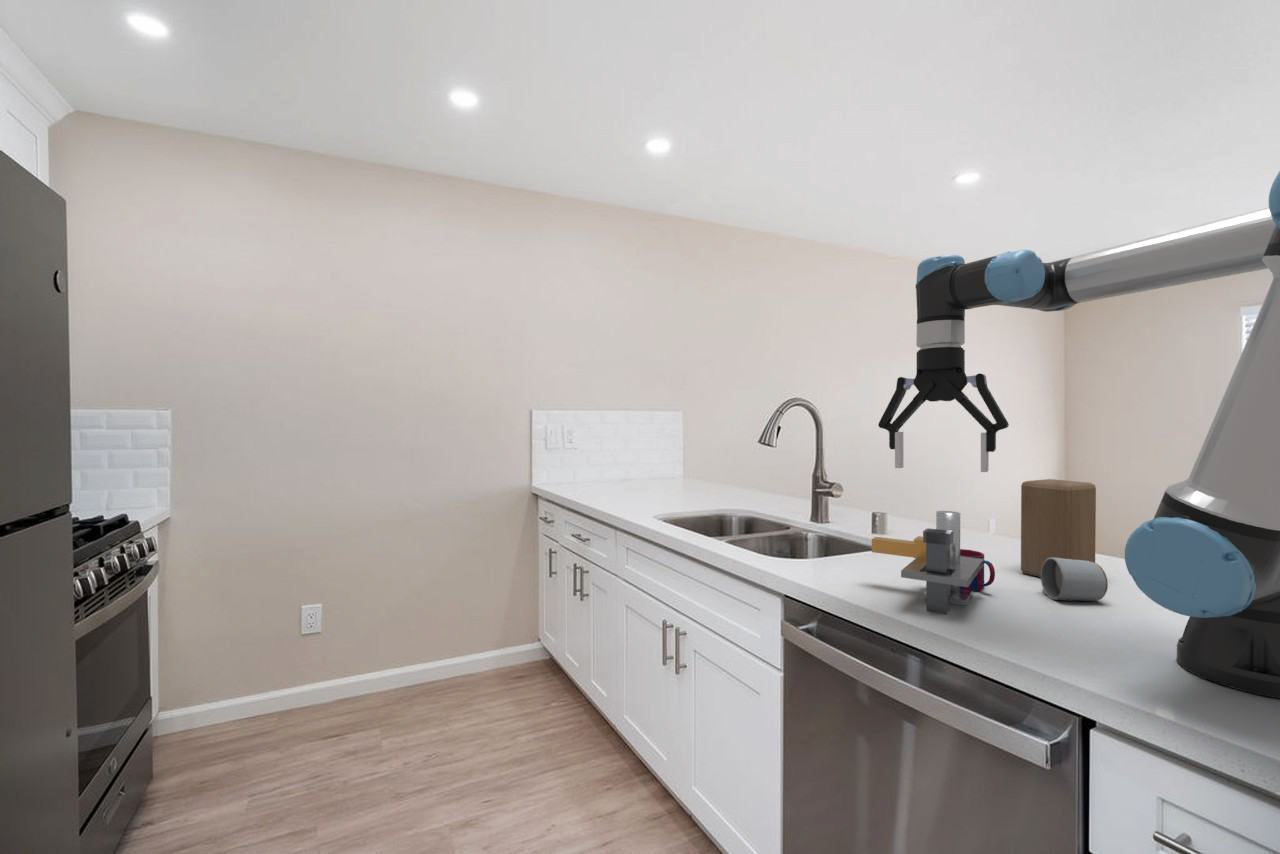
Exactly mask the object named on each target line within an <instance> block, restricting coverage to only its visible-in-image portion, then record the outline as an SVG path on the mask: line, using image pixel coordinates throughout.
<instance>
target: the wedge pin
mask: <svg viewBox="0 0 1280 854" xmlns="http://www.w3.org/2000/svg"><path fill="white" fill-rule="evenodd" d="M922 537H923V543H926V572H927V573H934V574H941V575H948V576H950V545H951V544H952V543H953V531H950V530H939V529H936V528H929V527H927V528H925V529H924V530H923V531H922ZM925 583H926V584H925V586H926V588H925V591H926V599H925V600H926V601H925V602H926V603H925V604H926V606H925V607H926V612H930V613H935V614H942V615H946V616H947V614H949V612H950V610H951V603H950V585H949V584H943V583H936V582H929V581H925Z"/></svg>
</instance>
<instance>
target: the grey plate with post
mask: <svg viewBox="0 0 1280 854" xmlns="http://www.w3.org/2000/svg"><path fill="white" fill-rule="evenodd" d="M935 513H936V516H935V518H936V520H935V523H936V526H935V529H939V530H950V531H953V543H952V544H951V545H950V576H948V575H941V574H934V573H927V572H926V543H923V536H916V537H915V538H914V539H913V540H908V539H898V538H889V537H879V536H874V537H873V538H871V552H872V553H876V554H883V555H892V556H898V557H904V558H905V557H906V558H912V561H911V562H909V564H907V565H906V566H905V567H904V568H902V569H901V570H900V578H902V579H903V578H904V579H911V580H915V581H916V580H917V581H923V582H924V581H925V582H926V581H929V582H936V583H943V584H949V585H950V604H953V605H958V606H964V607H965V606H967V604H968V603H969V602H970V600H971V598H972V597H973V591H969V590H963V589H960V586H962V587H968V586H969V585H970V583H971V582H972V581H973V579H974V578H975V577H976V575H977V574H978V573H979V571H980V570H981V568H982V567H983V566H984V567H985V563H984V560H985V558H984V559H979V558H971V557H963V556H960V549H961V513H960V511H952V510H937V511H935ZM923 600H926V590H925V591H924V592H923Z"/></svg>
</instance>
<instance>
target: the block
mask: <svg viewBox="0 0 1280 854" xmlns="http://www.w3.org/2000/svg"><path fill="white" fill-rule="evenodd" d="M1020 488H1021V490H1020V493H1021V497H1020V499H1021V500H1020V501H1021V502H1020V503H1021V505H1020V506H1021V507H1020V514H1021V515H1020V571H1021V573H1023V574H1025V575H1028V574H1029V575H1028V576H1032V575H1034V576H1033V577H1036V576H1038V577H1037V578H1041V568H1042V565H1043V563H1044V561H1045V560H1046V559H1048V558H1051V557H1054V558H1063V559H1073V560H1084V561H1090V562H1094V563H1096V534H1097V533H1096V527H1097V525H1096V520H1097V519H1096V512H1097V510H1096V509H1097V507H1096V506H1097V502H1096V501H1097V487H1096V485H1095V484H1094V483H1092V482H1085V481H1074V480H1064V479H1055V478H1048V479H1037V480H1027V481H1022V483H1021V485H1020Z"/></svg>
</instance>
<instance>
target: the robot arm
mask: <svg viewBox="0 0 1280 854" xmlns="http://www.w3.org/2000/svg"><path fill="white" fill-rule="evenodd" d="M1263 270H1269V271H1270V272H1271V274H1272V280H1271V283H1270V286H1269V289H1268V290H1267V293H1266V296H1265V298H1264V301H1263V303H1262V305H1261V307H1260V310H1259V312H1258V315H1257V316H1256V319H1255V321H1254V324H1253V326H1252V328H1251V330H1250V333H1249V336H1248V338H1247V340H1246V342H1245V345H1244V347H1243V350H1242V352H1241V354H1240V356H1239V359H1238V361H1237V363H1236V366H1235V368H1234V371H1233V373H1232V374H1231V378H1230V380H1229V382H1228V385H1227V386H1226V390H1225V392H1224V394H1223V397H1222V398H1221V401H1220V403H1219V406H1218V408H1217V410H1216V412H1215V414H1214V418H1213V420H1212V422H1211V424H1210V427H1209V430H1208V432H1207V434H1206V436H1205V437H1204V441H1203V444H1202V446H1201V448H1200V451H1199V452H1198V456H1197V457H1196V460H1195V462H1194V464H1193V467H1192V468H1191V471H1190V474H1189V475H1188V476H1189V477H1188V478H1186V479H1184V480H1182V481H1179V482H1176V483H1174V484H1170V485H1168V486H1167V487H1166V489H1165V491H1164V493H1163V496H1162V498H1161V501H1160V502H1159V505H1158V507H1157V510H1156V512H1155V514H1154V516H1153V519H1150V520H1148V521H1147V520H1146V521H1144V522H1143V523H1141V524H1140V525H1139V527H1136V528H1135V530H1133V532H1132V533H1131V534H1130V535H1129V537H1128V539H1127V541H1126V543H1125V546H1124V547H1125V548H1124V561H1125V566H1126V569H1127V571H1128V574H1129V575H1130V576H1131V577H1132V579H1133V582H1134V583H1135V586H1136V587H1137V588H1138V589H1139V590H1140V592H1142V593H1143V594H1144V595H1145V596H1146V597H1147V598H1149V600H1151V601H1153V602H1154V603H1156V604H1157V605H1159V606H1160V607H1163V608H1164V609H1166V610H1168V611H1170V612H1173V613H1174V614H1175V613H1176V614H1179V615H1182V616H1187V617H1189V618H1188V620H1187V622H1186V625H1185V627H1184V630H1183V634H1182V637H1180V638H1179V639H1178V641H1177V643H1176V661H1177V663H1178V664H1179V665H1180V666H1181V667H1182V668H1184V669H1185V670H1187V671H1189V672H1190V673H1191V674H1194V675H1197V676H1199V677H1201V678H1204V679H1206V680H1208V681H1211V682H1214V683H1217V684H1220V685H1223V686H1226V687H1230V688H1232V689H1236V690H1239V691H1244V692H1247V693H1251V694H1257V695H1261V696H1266V697H1270V698H1276V699H1280V171H1278V173H1277V175H1276V176H1275V178H1274V179H1273V182H1272V184H1271V187H1270V190H1269V194H1268V207H1266V208H1263V209H1258V210H1254V211H1250V212H1246V213H1241V214H1237V215H1233V216H1229V217H1226V218H1222V219H1219V220H1214V221H1211V222H1206V223H1202V224H1198V225H1194V226H1191V227H1185V228H1182V229H1179V230H1178V229H1177V230H1175V231H1170V232H1166V233H1162V234H1158V235H1154V236H1151V237H1150V236H1149V237H1146V238H1143V239H1137V240H1134V241H1131V242H1127V243H1122V244H1118V245H1115V246H1110V247H1107V248H1102V249H1099V250H1093V251H1090V252H1086V253H1082V254H1078V255H1075V256H1073V257H1072V256H1071V257H1068V258H1064V259H1063V258H1062V259H1058V260H1054V261H1051V262H1043V260H1042V259H1041V257H1040V256H1037V254H1036V252H1035V251H1033V250H1030V249H1020V250H1016V251H1006V252H1002V253H1000V254H998V255H993V256H990V257H986V258H983V259H979V260H975V261H971V262H967V263H965V258H964V257H962V255H961V256H960V255H958V254H957V255H956V254H943V255H939V256H931V257H928V258H925V259H923V260H922V261H920V262H919V264H918V266H917V270H916V284H915V293H916V295H915V296H916V317H917V318H916V342H915V344H916V346H917V348H919V350H917V351H916V373H915V374H916V375H915V377H914V378H907V377H903V376H900V377H898V378H897V380H896V387H895V391H894V393H893V395H892V397H891V398H890V401H889V402H888V404H887V406H886V408H885V409H884V412H883V414H882V416H881V418H880V420H879V422H878V425H877V426H878V428H880V429H883V430H886V431H888V436H889V438H888V440H889V441H888V446H889V449H890V450H894V469H901V468H904V431H900V429H901V428H902V427H903V426H904V425H905V423H906V422H907V421H908V420H909V419H910V418H911V417H913V415H914V413H915V412H917V410H918V409H919V408H920V407H921V406H922V405H923V404H924V403H925V402H926V401H928V402H940V401H942V402H953V401H954V400H956V402H958V404H960V405H961V406H962V407H963V408H964V409H965V410H966V411H967V413H969V414H970V416H971V417H973V419H974V420H975V421H976V422H977V423H978V425H980V426H981V427H982V428H983V429H984V430H985V431H986V432H980V473H988V472H989V452H990V453H994V452H995V451H996V450H997V443H996V442H997V433H998V432H999V431H1002V430H1004V429H1007V428H1008V427H1009V422H1008V420H1007V418H1006V417H1005V415H1004V413H1003V412H1002V410H1001V407H1000V406H999V405H998V403H997V401H996V399H995V398H994V396H993V394H992V393H991V390H990V389H989V387H988V384H987V383H988V381H987V376H986V374H983V373H977V374H976V375H975V374H973V375H968V376H967V375H966V371H965V370H966V369H965V368H966V367H965V365H966V364H965V362H966V361H965V358H966V356H965V355H966V354H965V352H966V350H965V349H964V347H962V346H964V344H965V341H966V337H965V334H966V333H965V331H966V329H965V328H966V326H965V325H966V324H965V323H966V322H965V318H966V315H965V314H966V310H973V309H977V308H983V307H989V306H1003V307H1010V308H1011V307H1012V308H1022V309H1029V310H1037V311H1039V312H1044V313H1045V312H1048V313H1049V312H1062V311H1066V310H1069V309H1070V308H1073V307H1074V306H1075V305H1077V304H1081V303H1087V302H1090V301H1095V300H1096V301H1097V300H1102V299H1107V298H1114V297H1118V296H1119V297H1120V296H1124V295H1125V296H1126V295H1129V294H1135V293H1141V292H1146V291H1151V290H1158V289H1163V288H1169V287H1174V286H1175V287H1176V286H1180V285H1185V284H1191V283H1195V282H1202V281H1207V280H1212V279H1213V280H1214V279H1219V278H1223V277H1224V278H1225V277H1228V276H1229V277H1230V276H1235V275H1240V274H1245V273H1250V272H1251V273H1252V272H1257V271H1263ZM916 346H915V347H916ZM968 383H969V384H971V386H972V387H973V388H976V389H977V392H978V393H979V395H980V397H981V398H982V400H983V402H984V404H985V405H986V407H987V409H988V410H989V412H990V414H991V416H992V418H993V419H994V421H995V423H993V422H992V421H991V420H990V419H989V418H988V417H987V416H986V415H985V414H984V413H983V412H982V411H981V410H980V409H979V408H978V407H977V406H976V405H975V404H974V403H973V402H972V401H971V400H970V399H969V397H968V396H967V395H966V394H965V393H964V392H963V390H964V388H965V387H966V386H967V384H968ZM912 386H914V387H915V388H916V390H917V391H918V393H917V394H916V395H915V396H914V397H913V399H912V400H911V401H910V402H909V403H908V405H907V406H906V407H905V408H904V409H903V410H902V412H900V414H899V415H898V416H897V417H896V418H895V419H894V420H893V418H894V416H895V415H896V413H897V411H898V409H899V407H900V406H901V405H900V404H901V403H902V401H903V399H904V398H905V395H906V393H907V391H909V390H910V389H911V387H912ZM892 421H893V422H892ZM891 422H892V423H891Z"/></svg>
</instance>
